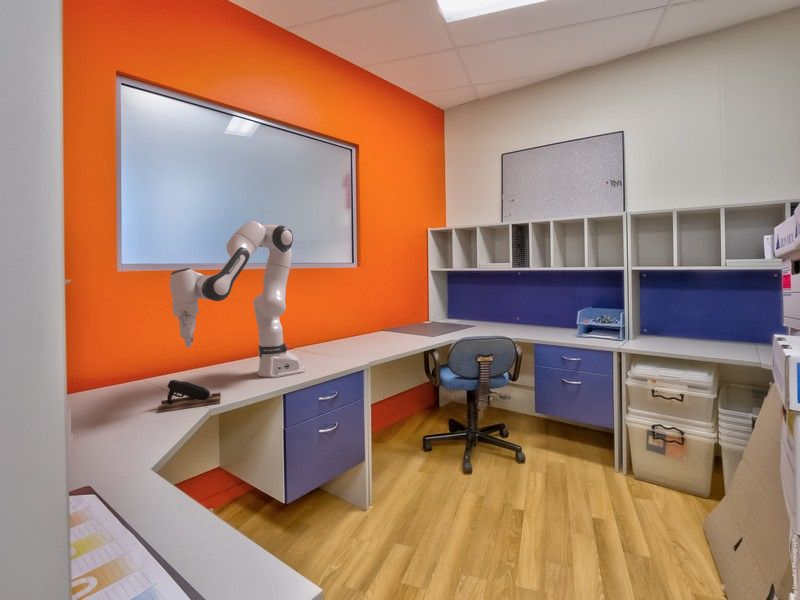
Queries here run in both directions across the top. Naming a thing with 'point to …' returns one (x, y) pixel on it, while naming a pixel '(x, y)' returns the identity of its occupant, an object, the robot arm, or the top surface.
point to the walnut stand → (188, 403)
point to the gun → (187, 390)
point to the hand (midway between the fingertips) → (190, 344)
